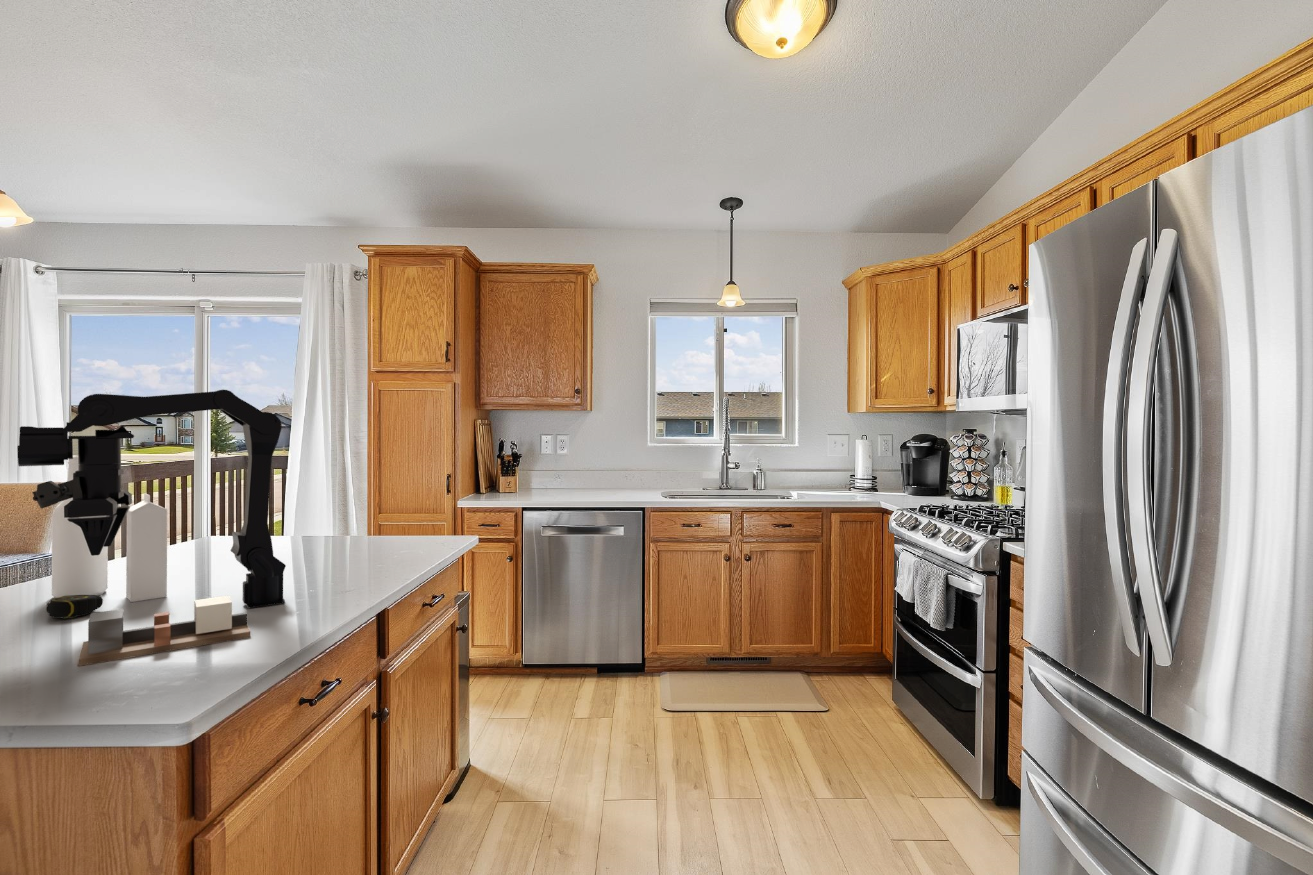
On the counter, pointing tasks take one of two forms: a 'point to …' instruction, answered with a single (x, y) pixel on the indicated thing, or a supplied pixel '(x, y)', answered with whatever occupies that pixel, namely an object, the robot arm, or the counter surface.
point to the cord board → (148, 636)
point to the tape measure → (73, 605)
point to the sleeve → (213, 614)
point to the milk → (146, 551)
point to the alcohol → (75, 555)
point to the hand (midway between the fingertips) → (101, 550)
